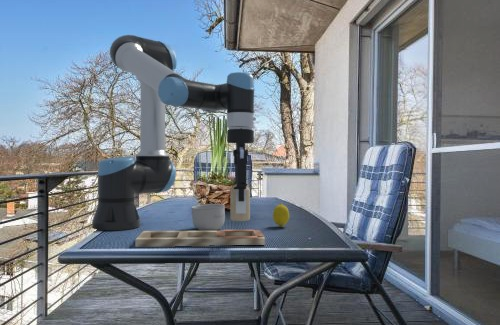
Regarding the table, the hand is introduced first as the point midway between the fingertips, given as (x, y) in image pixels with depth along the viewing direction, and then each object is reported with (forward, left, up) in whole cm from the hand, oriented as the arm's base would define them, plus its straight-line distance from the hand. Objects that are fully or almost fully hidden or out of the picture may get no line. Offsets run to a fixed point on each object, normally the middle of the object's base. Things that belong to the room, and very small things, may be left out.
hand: (240, 211), depth 114 cm
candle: (0, 0, -3) cm, 3 cm away
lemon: (-7, +27, -9) cm, 29 cm away
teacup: (-21, +7, -9) cm, 24 cm away
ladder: (-7, -8, -8) cm, 14 cm away
